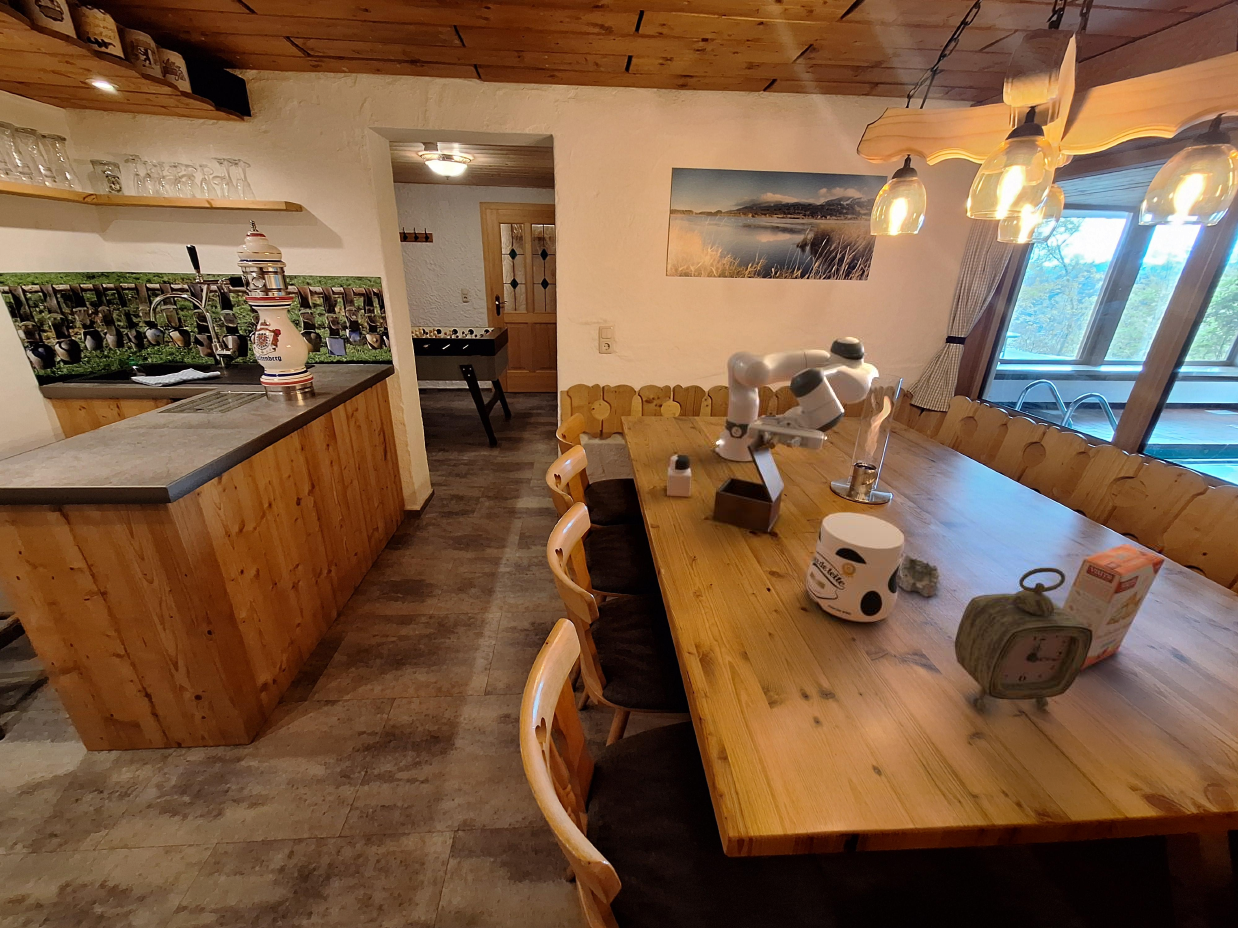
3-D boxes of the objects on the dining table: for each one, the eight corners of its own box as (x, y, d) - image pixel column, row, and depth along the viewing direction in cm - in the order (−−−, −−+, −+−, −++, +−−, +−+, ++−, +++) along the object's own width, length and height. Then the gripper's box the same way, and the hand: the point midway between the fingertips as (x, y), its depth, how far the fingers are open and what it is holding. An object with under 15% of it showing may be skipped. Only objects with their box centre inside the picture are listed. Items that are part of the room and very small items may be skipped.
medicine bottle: (688, 487, 160) (691, 453, 156) (689, 497, 153) (692, 461, 149) (667, 486, 161) (669, 452, 156) (666, 495, 154) (669, 460, 150)
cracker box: (1079, 675, 86) (1125, 575, 79) (1040, 652, 92) (1080, 556, 84) (1120, 653, 92) (1168, 557, 84) (1082, 633, 97) (1123, 541, 89)
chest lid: (746, 446, 128) (768, 439, 124) (759, 434, 138) (780, 427, 134) (770, 503, 129) (792, 497, 126) (781, 486, 139) (802, 481, 136)
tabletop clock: (974, 717, 78) (1023, 585, 69) (937, 673, 86) (976, 551, 77) (1060, 714, 79) (1120, 583, 70) (1015, 671, 87) (1063, 550, 78)
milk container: (789, 603, 104) (802, 529, 98) (821, 571, 116) (835, 502, 109) (876, 643, 93) (897, 562, 87) (901, 602, 105) (921, 529, 99)
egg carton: (933, 600, 106) (938, 584, 105) (894, 587, 110) (898, 572, 109) (937, 577, 114) (942, 562, 113) (901, 566, 118) (905, 551, 117)
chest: (712, 519, 140) (715, 491, 136) (727, 503, 150) (729, 476, 147) (767, 533, 132) (771, 504, 129) (778, 515, 143) (782, 488, 139)
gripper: (826, 446, 137) (817, 461, 126) (753, 434, 147) (740, 447, 135) (830, 425, 135) (821, 438, 124) (756, 414, 144) (742, 425, 133)
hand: (778, 442), depth 130 cm, fingers open, 4 cm apart
